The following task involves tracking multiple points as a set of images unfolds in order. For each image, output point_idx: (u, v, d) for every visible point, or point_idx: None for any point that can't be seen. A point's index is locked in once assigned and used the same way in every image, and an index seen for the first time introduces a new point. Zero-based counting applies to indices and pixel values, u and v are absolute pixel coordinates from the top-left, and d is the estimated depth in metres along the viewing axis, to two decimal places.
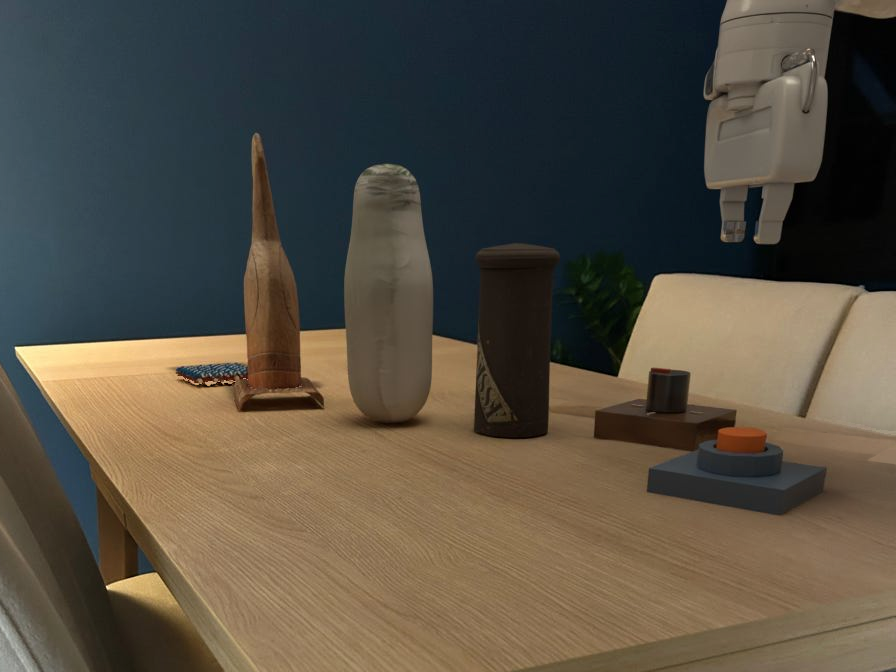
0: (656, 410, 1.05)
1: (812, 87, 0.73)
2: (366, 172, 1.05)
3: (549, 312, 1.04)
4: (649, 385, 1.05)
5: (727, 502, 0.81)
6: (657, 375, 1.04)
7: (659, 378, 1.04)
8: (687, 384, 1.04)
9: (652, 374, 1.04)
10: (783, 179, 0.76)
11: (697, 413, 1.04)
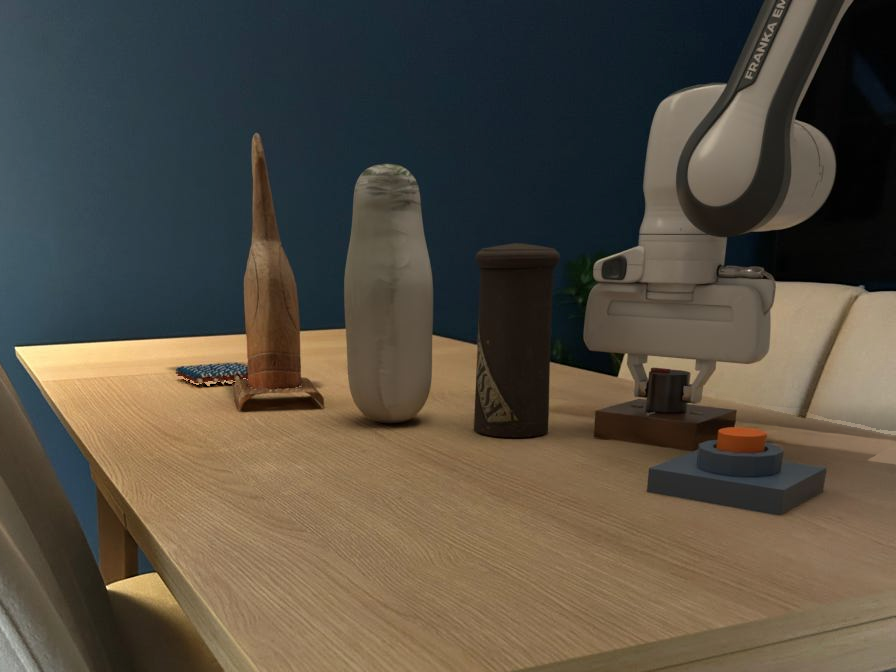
0: (656, 410, 1.05)
1: (773, 297, 0.96)
2: (366, 172, 1.05)
3: (549, 312, 1.04)
4: (649, 385, 1.05)
5: (727, 502, 0.81)
6: (657, 375, 1.04)
7: (659, 378, 1.04)
8: (687, 384, 1.04)
9: (652, 374, 1.04)
10: (752, 362, 0.98)
11: (697, 413, 1.04)
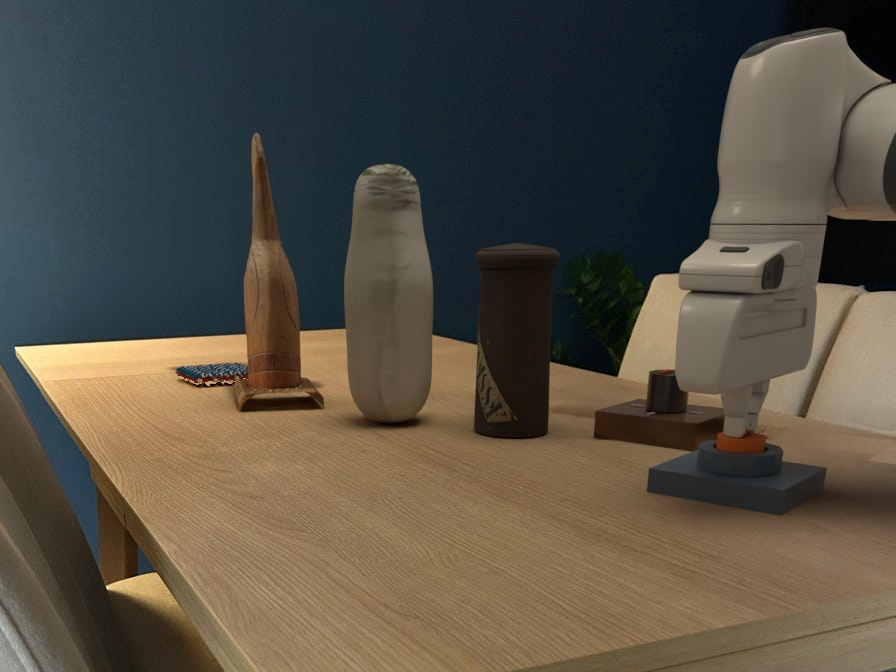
0: (684, 410, 1.05)
1: None
2: (366, 172, 1.05)
3: (549, 312, 1.04)
4: (676, 388, 1.04)
5: (727, 502, 0.81)
6: None
7: None
8: None
9: None
10: None
11: (697, 413, 1.04)
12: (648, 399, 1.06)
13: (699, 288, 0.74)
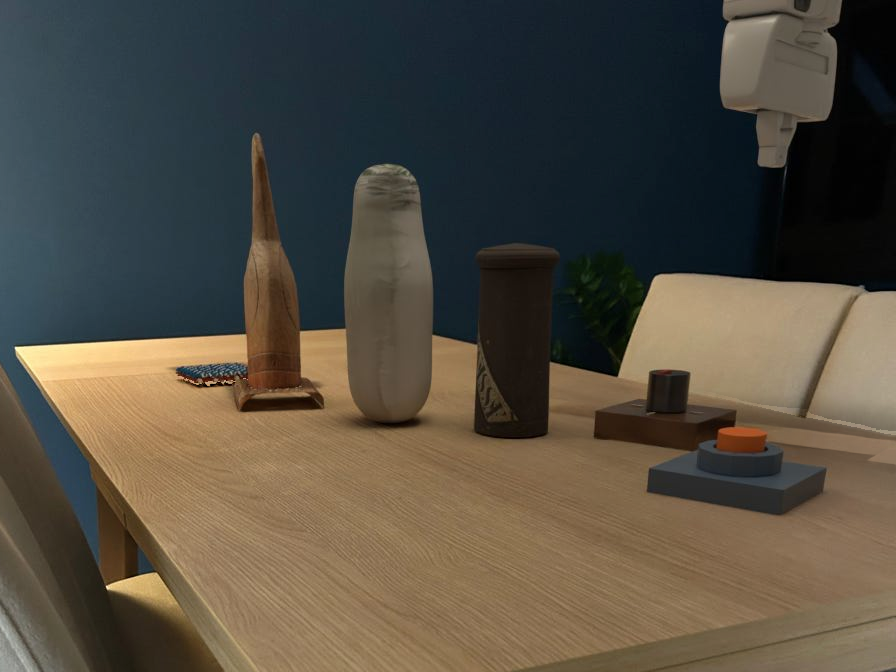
0: (684, 410, 1.05)
1: None
2: (366, 172, 1.05)
3: (549, 312, 1.04)
4: (676, 388, 1.04)
5: (727, 502, 0.81)
6: (687, 375, 1.04)
7: (687, 377, 1.04)
8: None
9: (681, 376, 1.03)
10: (820, 119, 1.02)
11: (697, 413, 1.04)
12: (648, 399, 1.06)
13: (740, 13, 0.88)
